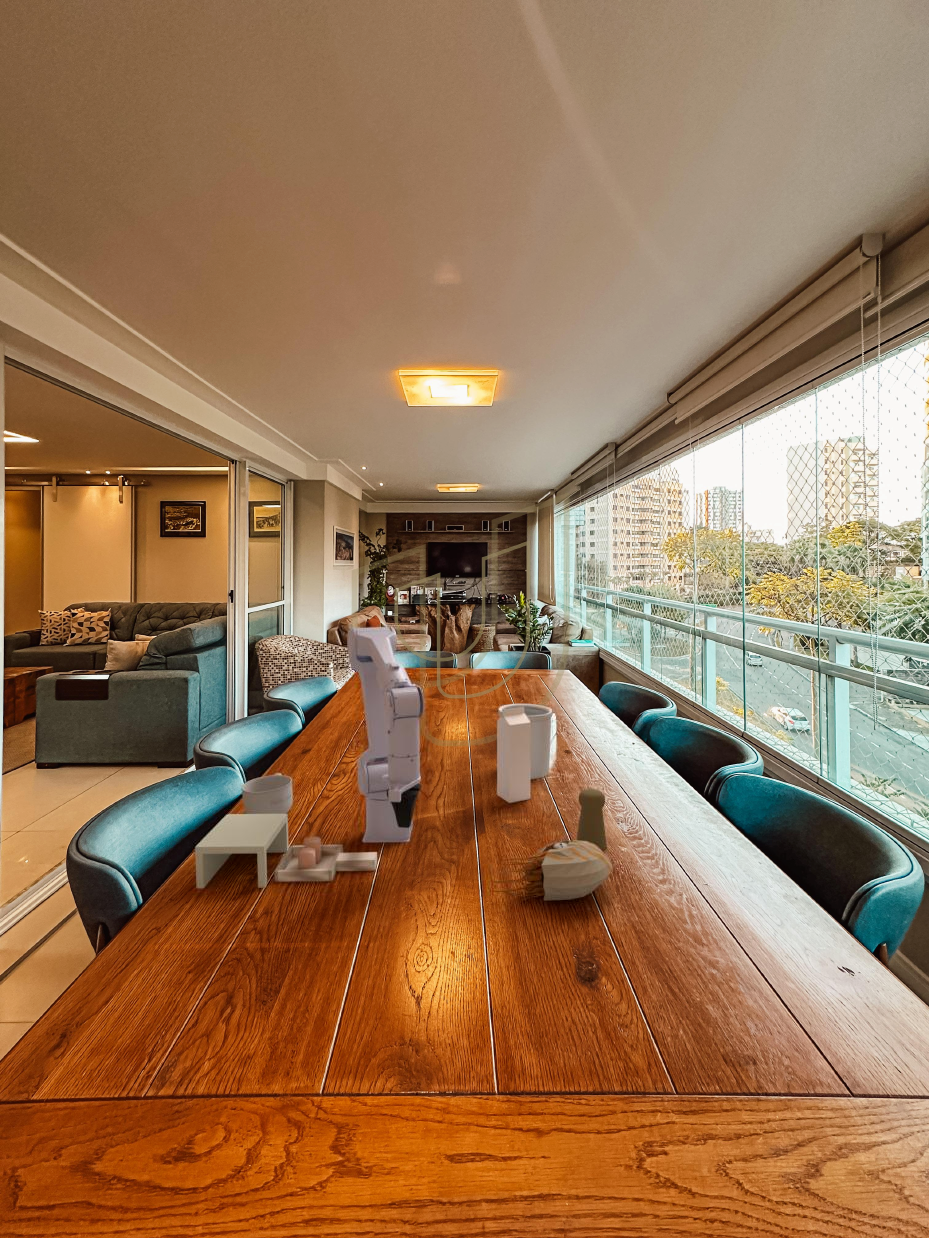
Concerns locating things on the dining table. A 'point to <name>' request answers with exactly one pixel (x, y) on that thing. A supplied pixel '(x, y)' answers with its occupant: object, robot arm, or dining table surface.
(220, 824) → the grey bridge stand
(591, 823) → the pepper mill
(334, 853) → the drawer with block handle
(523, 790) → the milk
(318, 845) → the tan rounded capsule
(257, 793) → the teacup
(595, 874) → the nautilus
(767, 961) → the dining table surface
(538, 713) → the utensil holder
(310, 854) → the tan rounded block
